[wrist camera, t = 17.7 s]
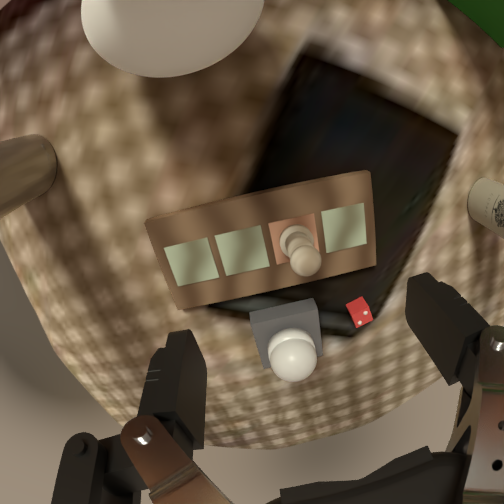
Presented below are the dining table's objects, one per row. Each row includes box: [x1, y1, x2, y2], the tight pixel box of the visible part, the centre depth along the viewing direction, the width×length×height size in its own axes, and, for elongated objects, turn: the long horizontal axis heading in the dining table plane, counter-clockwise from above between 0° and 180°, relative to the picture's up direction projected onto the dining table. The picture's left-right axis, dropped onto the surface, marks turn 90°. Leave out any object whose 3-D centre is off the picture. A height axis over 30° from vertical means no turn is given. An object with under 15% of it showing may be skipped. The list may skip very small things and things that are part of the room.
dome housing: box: [249, 298, 323, 369], centre depth 47 cm, size 10×10×3 cm
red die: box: [346, 297, 373, 328], centre depth 46 cm, size 3×3×3 cm
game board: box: [144, 170, 376, 310], centre depth 41 cm, size 30×14×2 cm, turn 103°
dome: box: [267, 328, 317, 382], centre depth 43 cm, size 7×7×7 cm
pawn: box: [279, 224, 321, 276], centre depth 37 cm, size 4×4×8 cm
